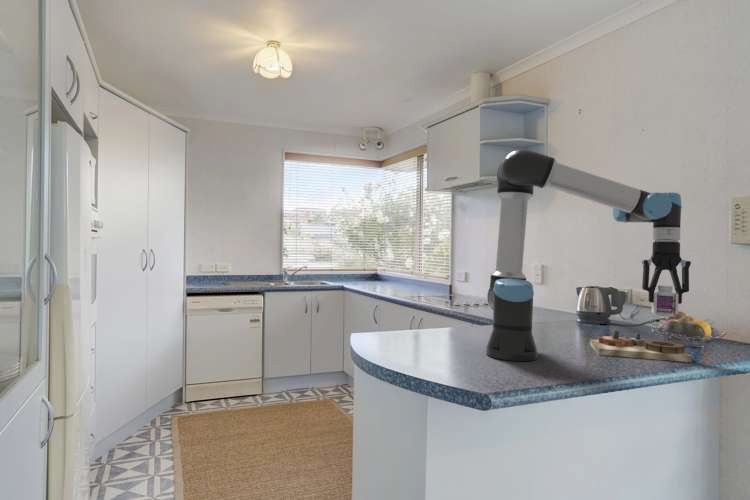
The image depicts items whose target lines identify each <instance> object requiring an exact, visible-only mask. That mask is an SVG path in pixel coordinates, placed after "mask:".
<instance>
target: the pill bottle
mask: <svg viewBox="0 0 750 500" xmlns="http://www.w3.org/2000/svg"><path fill="white" fill-rule="evenodd" d="M657 290H658V291H656V292H655V293H657V313H654V314H655V316H658V317H659V316H660V317H671V318H672V317H674V316H675V314H674V309H675V294H674V292H672V291H673V290H674V289H673V286H672V285H663V284H662V285H657Z"/></svg>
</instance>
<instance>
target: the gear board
mask: <svg viewBox="0 0 750 500" xmlns="http://www.w3.org/2000/svg"><path fill="white" fill-rule="evenodd" d="M619 333H620V331H619V330H617V329H616V330H614V329H613V330H612V335H608V336H606V335H599V336H598V337H597V338H598V339H592V338H591V339H590V340H589V345H590V347H591V348H592V349H593V350H594V352H596V353H597V354H598V355H599V356H610V357H620V358H621V357H623V358H633V359H634V358H635V359H645V360H659V361H670V362H671V361H673V362H681V363H683V362H684V363H693V355H692V354H690V353H688V352H686V351H685V350H686V349H685V347H686V346H685V345H683V344H681V343H677V342H673V341H672V342H671V341H665V340H654V339H651V340H647V339H646V338H641V334H640V333H635V335H634V337H625V336H624V337H623V336H621V337H620V336H619Z"/></svg>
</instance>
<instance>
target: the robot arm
mask: <svg viewBox="0 0 750 500" xmlns="http://www.w3.org/2000/svg"><path fill="white" fill-rule="evenodd" d="M496 180H497V193H496V194H497V196H498V197H499V199H500V209H499V211H500V212H499V213H500V214H499V225H498V235H497V236H498V237H497V238H498V239H497V250H496V260H495V261H496V262H495V263H496V264H495V270H494V271H493V272H492V273H491V274H490V281H489V288H488V291H487V302H488V305H489V307H490V309H492V310H493V311H492V313H493V315H492V331H491V334H490V337H489V340H488V342H487V345H486V351H485V353H486V355H487V356H488V357H490V358H495V359H498V360H503V361H512V362H529V361H530V362H531V361H536V360H537V359H538V353H539V352H538V348H537V345H536V341H535V338H534V334H533V313H534V312H533V309H534V307H533V306H534V294H535V292H534V285H533V284H532V282H530V281H528V280H527V277H526V275H525V273H523V266H524V264H523V263H524V252H525V239H526V226H527V217H528V216H527V215H528V203H529V202H528V201H529V200H530V199H531V198H533V196H534V187H537V188H541V189H544V188H547V187H548V188H552V189H555V190H557V191H561V192H564V193H567V194H570V195H573V196H575V197H579V198H582V199H585V200H588V201H591V202H594V203H597V204H600V205H603V206H607V207H609V208H612V214H613V215H612V216H613V219H614V220H615V221H616V222H617V223H625V224H626V223H652V240H653V241H654V242H653V243H652V253H651V254H652V255H651V257H650V258H647V259H642V260H641V264H642V267H643V268H642V283H641V285H642V286H641V289H642V290H643V291H646V292H648V293H647V294H648V298H647V299H648V302H649V303H651V313H653V314H655V313H657V293H656V292H655V291H656V287H657V286H658V283H659V279H660V276H661V273H662V272H663V271H666V270H667V271H668V272H669V274H670V276H671V281H672V283H673V286H674V291H675V293H674V292H673V293H674V294H675V309H674V315H677V316H678V315H679V305H681V304H682V303H683V294H684V293H688V292H689V291H690V268H691V264H692V262H691V260H685V259H682V257H681V242H680V240H681V223H682V222H681V218H682V217H681V216H682V208H683V207H682V198H681V195H680V194H679V193H678V192H670V191H669V192H649V191H646V190H642V189H639V188H636V187H632V186H629V185H627V184H623V183H621V182H618V181H614V180H612V179H609V178H605V177H602V176H599V175H596V174H592V173H591V172H590V173H589V172H587V171H584V170H580V169H577V168H575V167H571V166H568V165H565V164H561V163H559V162H557V160H556V158H554V157H551V156H548V155H546V154H543V153H541V152H540V153H539V152H537V151H533V150H531V149H523V148H522V149H516V150H514V151H511V152H510V153H508V155H506V157H505V158H504V159H503V161H502V162H501V163H500V165H499V166H498V168H497V172H496ZM651 264H653V265H654V266H655V267H654V272H653V273H652V274H653V275H652V277H651V280H650V268H651V267H650V266H651ZM678 265H680V266H681V282H680V277H679V274H678V269H677V267H678Z"/></svg>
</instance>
